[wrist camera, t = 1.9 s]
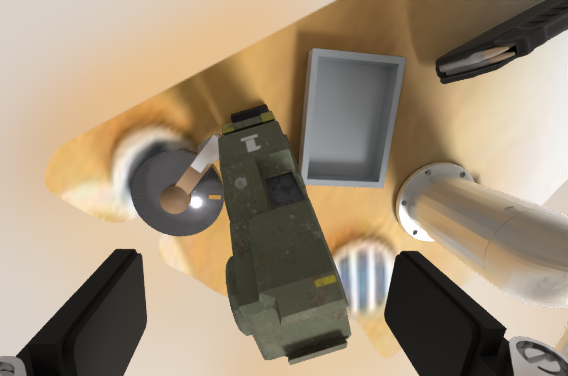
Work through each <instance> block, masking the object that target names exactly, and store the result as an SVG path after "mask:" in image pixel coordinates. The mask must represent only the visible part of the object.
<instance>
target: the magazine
mask: <svg viewBox="0 0 568 376" xmlns="http://www.w3.org/2000/svg"><path fill="white" fill-rule="evenodd" d="M567 29H568V0H546V1H544V2H542V3H540V4H538V5H536V6H534V7H532V8H530V9H528V10H526V11H525V12H523V13H521V14H519V15H517V16H515V17H513V18H511V19H509V20H507V21H506V22H504V23H502V24H500V25H498V26H496V27H494V28H493V29H491V30H489V31H487V32H485V33H484V34H482V35H480V36H478V37H476V38H474V39H473V40H471V41H469V42H467V43H465V44H464V45H462V46H460V47H458V48H456V49H454V50H452V51H451V52H449V53H447V54H445V55H444V56H442V57H440V58H439V59H437V61H436V62H435V63H436V72H437V75H438V77H440V78H441V79H440V81H441V83H442V84H447V83H451V82H455V81H460V80H464V79H468V78H473V77H476V76H478V75H481V74H484V73H488V72H491V71H494V70H497V69H499V68H501V67H503V66H504V65H506V64H508V63H509V62H511V61H513V60H514V59H516V58H518V57H522V56H525V55H528V54H529V53H531V52H532V51H533V50H534V49H535V48H537V47H538V46H540V45H542V44H544V43H545V42H546V41H548V40H549V39H551V38H553V37H555V36H557V35H558V34H560V33H562V32H563V31H565V30H567Z"/></svg>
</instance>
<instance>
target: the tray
mask: <svg viewBox="0 0 568 376" xmlns="http://www.w3.org/2000/svg"><path fill="white" fill-rule="evenodd" d="M405 63H406V57H397V56H388V55H378V54H368V53H358V52H348V51H338V50H328V49H319V48H312V49H311V50H310V51H309V52H308V58H307V70H306V81H305V93H304V104H303V116H302V127H301V139H300V150H299V162H298V167H299V169H300V172H301V174H302V177H303V180H304V183H305V185H320V186H344V187H368V188H383V187H384V182H385V176H386V170H387V165H388V159H389V153H390V148H391V142H392V136H393V131H394V125H395V119H396V114H397V108H398V102H399V97H400V91H401V85H402V80H403V74H404V68H405Z"/></svg>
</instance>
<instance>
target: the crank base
mask: <svg viewBox="0 0 568 376" xmlns="http://www.w3.org/2000/svg"><path fill="white" fill-rule="evenodd" d="M197 155H198V154H196V153H194V152H191V151H187V150H167V151H164V152H161V153H158V154H156V155H154V156H152V157H151V158H149V159H147V160H146V161H145V162H144V163H143V164H142V165H141V166H140V167H139V168H138V170H137V171H136V173H135V175H134V177H133V181H132V186H131V196H132V201H133V204H134V207H135V209H136V211H137V212H138V214H139V216H140V217H141V218H142V219H143V220H144V221H145V222H146V223H147V224H148V225H149V226H151V227H152V228H154V229H155V230H157V231H159V232H162V233H164V234H168V235H172V236H189V235H193V234H197V233H199V232H201V231H203V230H205V229H207V228H208V227H209V226H210V225H212V223H213V222H214V221H215V220H216V219H217V217H218V216H219V214H220V212H221V209H222V206H223V203H224V191H223V181H222V178H221V176H220V174H219V172H218V171H217V169H216V168H215V167H214V166H213V164H212V165H211V166H210V167H209V169H208V170H207V171H206V173H205V174H204V175H203V177H202V178H201V179H200V180H199V182H198V183H197V184H196V186H195V187H194V188H193V190H192V191H191V192H190V193H191V202H190V204H189V205H188V207H187V208H186V209H185V210H184V211H183V212H181V213H178V214H172V213H169V212H167V211H165V210H164V209H163V208H162V207H161V205H160V201H159V198H160V194H161V193H162V191H163V190H165V189H166V188H167V187H168V186H169V185H171V184H177V182H178V181H179V180H180V178H181V177H182V176H183V174H184V173H185V172H186V170H187V169H188V168H189V166H190V165H191V164H192V162H193V161H194V159H195V158H196V157H197Z"/></svg>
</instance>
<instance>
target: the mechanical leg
mask: <svg viewBox="0 0 568 376" xmlns="http://www.w3.org/2000/svg"><path fill="white" fill-rule="evenodd" d="M231 120H232V122H231V123H227V124H224V125H222V134H223V135H224V136H222V137H220V138H218V148H219V160H220V171H221V175H222V181H223V191H224V201H225V204H226V208H227V212H228V216H229V220H230V233H231V242H232V251H233V256H232V257H230V258H229V260H228V262H227V264H226V285H227V292H228V297H229V301H230V306H231V310H232V313H233V316H234V319H235V322H236V324H237V326H238V328H239V330H240V331H241V332H242V333H244V334H245V335H246V336H248V335H253V337H254V339H255V341H256V343H257V345H258V347H259V349H260V352H261V354H262V356H263V358H264V359H265V360H272V359H276V358H279V357H282V356H286V357H288V362H289V364H290V365H292V364H295V363H299V362H302V361H305V360H308V359H311V358H315V357H318V356H321V355H324V354H328V353H331V352H334V351H337V350H341V349H344V348H346V346H347V341H346V340H347V339H348V338H349V337H350V336H351V331H350V326H349V321H348V315H347V310H346V307H347V306H349V305H348V302H347V299H346V295H345V292H344V289H343V286H342V282H341V279H340V276H339V273H338V271H337V268H336V266H335V263H334V260H333V258H332V255H331V253H330V250H329V248H328V245H327V243H326V240H325V237H324V235H323V232H322V230H321V227H320V225H319V222H318V219H317V217H316V214H315V212H314V209H313V207H312V204H311V202H310V200H309V198H308V195H307V191H306V187H305V183H304V180H303V177H302V174H301V172H300V169H299V167H298V164H297V161H296V159H295V156H294V154H293V151H292V149H291V146H290V143H289V141H288V138H287V136H286V135H284V134H283V132H282V130H281V127H280V125H279V122H278V121H275V118H274V116H273V114H272V111H269V110H268V107H267V105H262V106H258V107H255V108H251V109H248V110H244V111H241V112H237V113H234V114H231Z"/></svg>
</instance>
